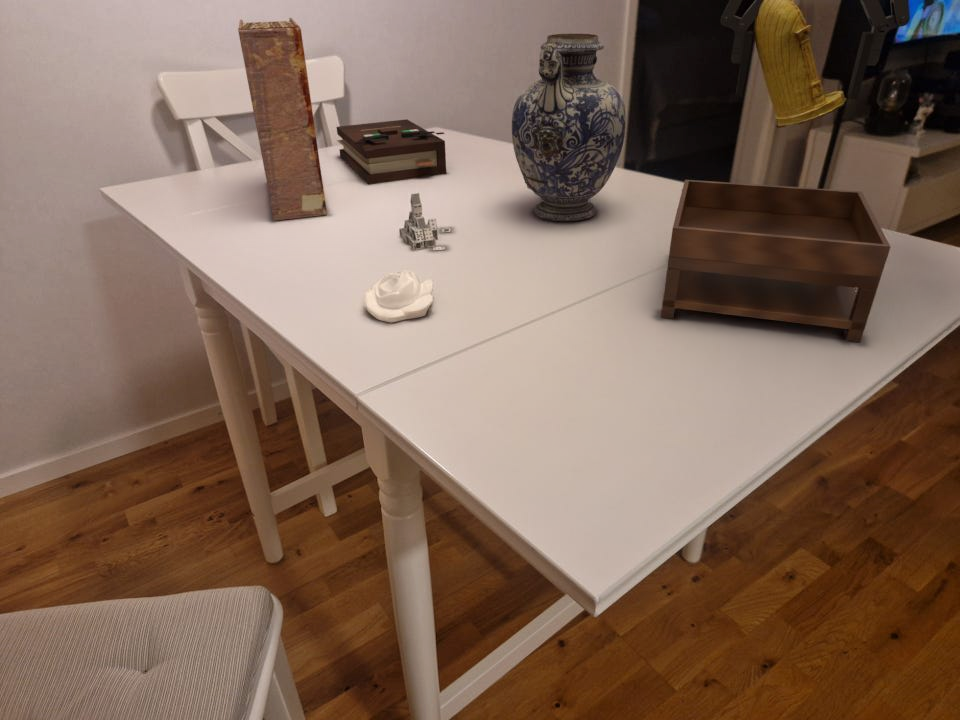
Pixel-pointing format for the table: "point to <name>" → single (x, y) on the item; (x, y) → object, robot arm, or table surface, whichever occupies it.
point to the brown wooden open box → (775, 254)
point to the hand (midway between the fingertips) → (794, 95)
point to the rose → (399, 297)
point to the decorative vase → (568, 129)
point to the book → (283, 117)
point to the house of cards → (420, 228)
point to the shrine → (790, 65)
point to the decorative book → (392, 151)
